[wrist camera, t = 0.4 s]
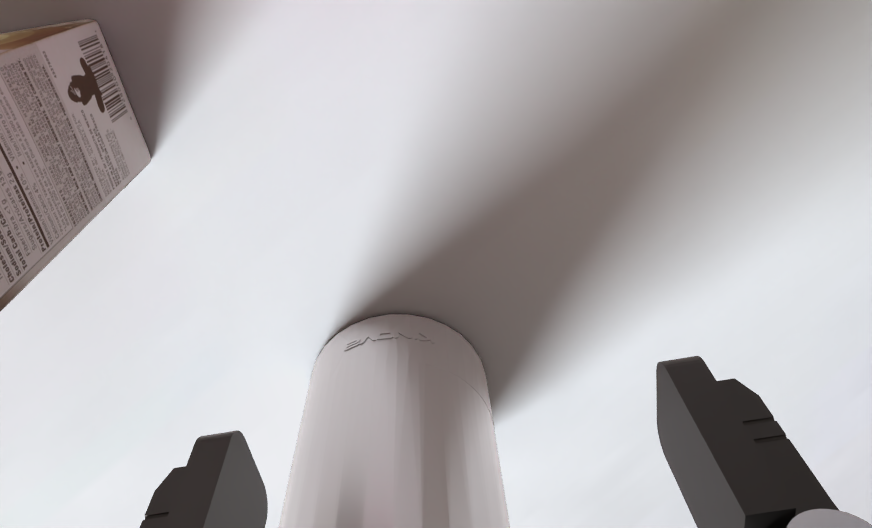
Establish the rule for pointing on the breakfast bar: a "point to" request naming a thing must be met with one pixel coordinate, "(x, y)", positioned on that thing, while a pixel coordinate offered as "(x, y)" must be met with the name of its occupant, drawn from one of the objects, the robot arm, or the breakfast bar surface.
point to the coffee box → (58, 143)
